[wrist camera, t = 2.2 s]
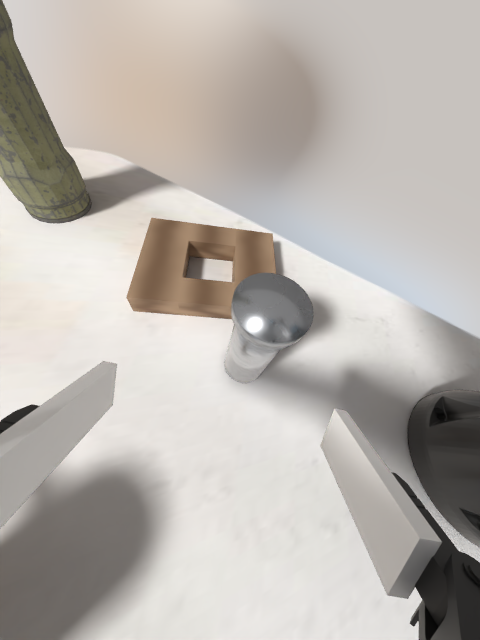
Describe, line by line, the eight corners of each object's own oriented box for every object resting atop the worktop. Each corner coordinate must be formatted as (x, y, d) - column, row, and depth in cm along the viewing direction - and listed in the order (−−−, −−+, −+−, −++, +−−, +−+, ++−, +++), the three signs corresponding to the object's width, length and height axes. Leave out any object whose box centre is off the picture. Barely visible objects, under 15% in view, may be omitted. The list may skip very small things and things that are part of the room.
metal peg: (265, 342, 29) (307, 276, 17) (268, 389, 26) (319, 345, 15) (220, 339, 28) (233, 268, 17) (218, 387, 25) (231, 339, 14)
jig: (267, 248, 37) (272, 233, 35) (272, 322, 30) (279, 310, 28) (155, 234, 35) (151, 217, 32) (133, 311, 28) (126, 297, 25)
